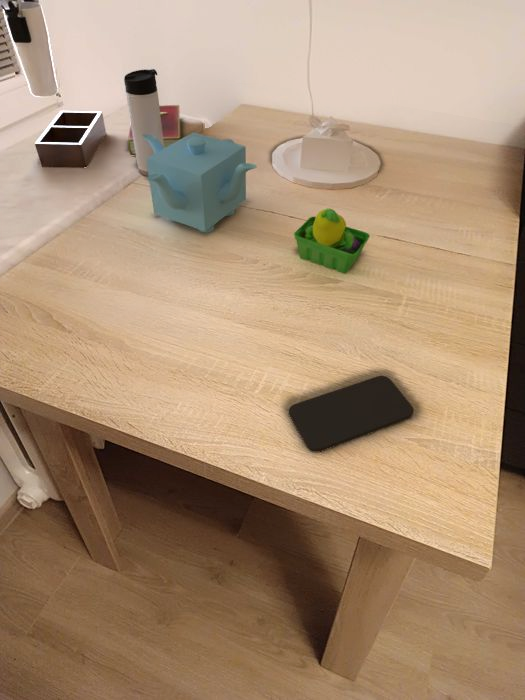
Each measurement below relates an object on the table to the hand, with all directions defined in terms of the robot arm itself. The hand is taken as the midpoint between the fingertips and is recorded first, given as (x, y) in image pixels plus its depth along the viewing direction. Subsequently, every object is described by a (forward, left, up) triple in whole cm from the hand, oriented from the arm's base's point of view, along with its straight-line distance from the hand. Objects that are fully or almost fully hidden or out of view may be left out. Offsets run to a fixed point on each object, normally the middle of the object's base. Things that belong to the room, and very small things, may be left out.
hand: (29, 36), depth 94 cm
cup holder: (0, +9, -25) cm, 27 cm away
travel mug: (+20, -1, -26) cm, 33 cm away
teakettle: (+32, -21, -26) cm, 46 cm away
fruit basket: (+56, -35, -26) cm, 71 cm away
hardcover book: (+18, +17, -26) cm, 36 cm away
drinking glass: (0, 0, -10) cm, 10 cm away
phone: (+56, -69, -25) cm, 93 cm away
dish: (+59, +4, -26) cm, 65 cm away
